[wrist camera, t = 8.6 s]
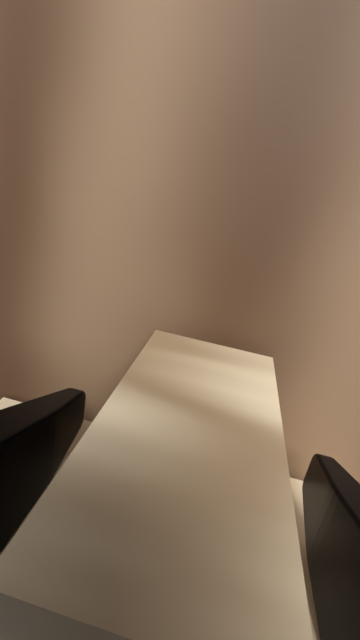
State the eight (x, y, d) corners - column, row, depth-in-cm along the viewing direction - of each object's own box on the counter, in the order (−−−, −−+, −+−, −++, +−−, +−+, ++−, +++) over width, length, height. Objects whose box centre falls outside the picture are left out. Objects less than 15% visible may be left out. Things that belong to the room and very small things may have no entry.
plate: (32, 419, 14) (-20, 467, 12) (50, 13, 10) (-28, -71, 7) (362, 513, 13) (396, 597, 10) (567, 78, 8) (740, 1, 5)
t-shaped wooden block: (5, 434, 11) (-244, 678, 5) (-3, 292, 9) (-402, 447, 3) (382, 545, 9) (565, 1031, 4) (469, 404, 8) (1063, 974, 2)
